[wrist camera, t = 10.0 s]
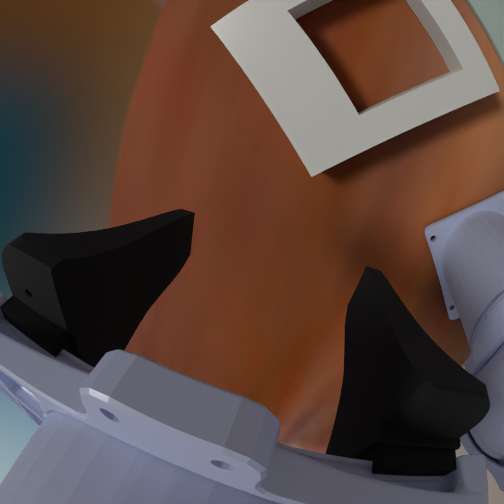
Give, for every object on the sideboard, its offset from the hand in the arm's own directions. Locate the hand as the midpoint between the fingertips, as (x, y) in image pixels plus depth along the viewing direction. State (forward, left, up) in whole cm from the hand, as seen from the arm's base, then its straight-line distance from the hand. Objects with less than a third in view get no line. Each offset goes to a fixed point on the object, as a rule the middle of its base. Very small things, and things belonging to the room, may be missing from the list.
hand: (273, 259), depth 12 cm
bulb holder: (+7, -8, -10) cm, 15 cm away
